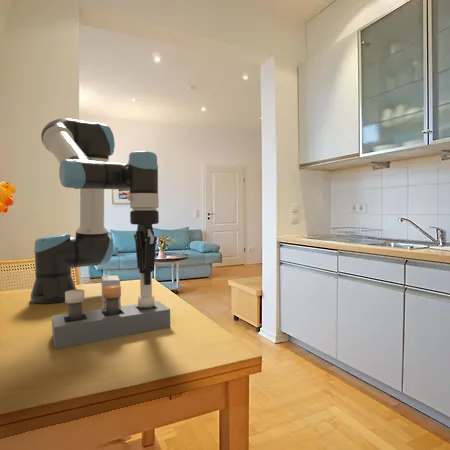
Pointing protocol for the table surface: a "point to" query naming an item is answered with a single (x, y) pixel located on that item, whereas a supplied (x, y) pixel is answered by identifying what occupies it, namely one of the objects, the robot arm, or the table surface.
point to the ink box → (109, 282)
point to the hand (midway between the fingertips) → (146, 295)
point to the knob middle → (112, 299)
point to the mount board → (108, 324)
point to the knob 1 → (74, 304)
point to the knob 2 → (146, 302)
